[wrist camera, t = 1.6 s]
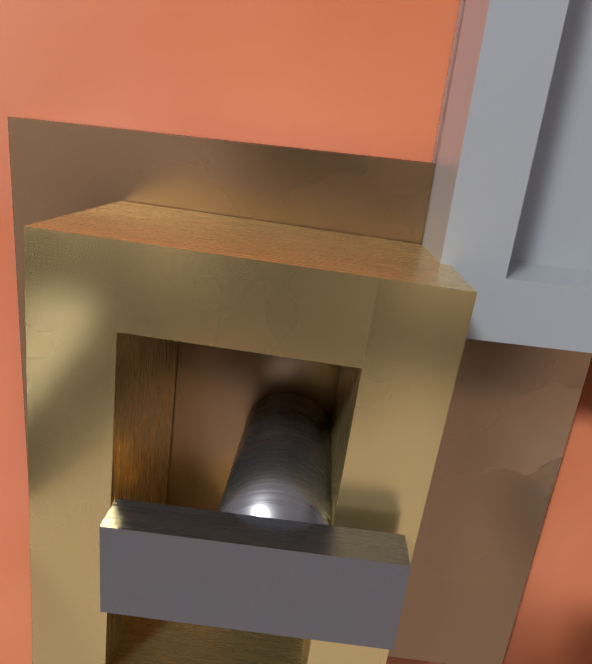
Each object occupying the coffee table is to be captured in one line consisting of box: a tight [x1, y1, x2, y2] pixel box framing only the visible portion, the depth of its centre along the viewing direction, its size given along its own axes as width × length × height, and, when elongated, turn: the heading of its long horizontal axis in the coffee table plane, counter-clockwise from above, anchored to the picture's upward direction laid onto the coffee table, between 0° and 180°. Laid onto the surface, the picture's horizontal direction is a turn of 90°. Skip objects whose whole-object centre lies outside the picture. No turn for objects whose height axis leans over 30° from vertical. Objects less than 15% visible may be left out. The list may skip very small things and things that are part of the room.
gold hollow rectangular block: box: [24, 201, 477, 664], centre depth 10 cm, size 10×6×3 cm, turn 172°
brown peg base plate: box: [8, 117, 592, 664], centre depth 10 cm, size 11×11×5 cm
